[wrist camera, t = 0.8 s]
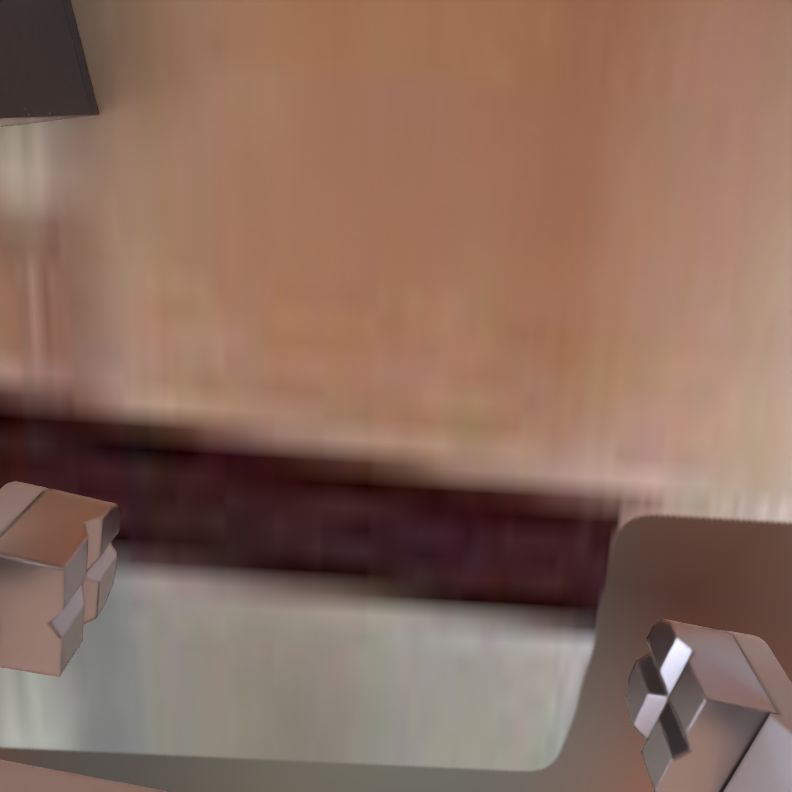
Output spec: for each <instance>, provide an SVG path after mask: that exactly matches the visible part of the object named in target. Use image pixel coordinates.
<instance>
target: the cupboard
mask: <svg viewBox="0 0 792 792" xmlns="http://www.w3.org/2000/svg"><path fill="white" fill-rule="evenodd" d="M94 115H99V113H98V109H97V105H96V101H95V97H94V93H93V89H92V85H91V81H90V77H89V74H88V70H87V66H86V62H85V58H84V54H83V50H82V46H81V42H80V38H79V34H78V30H77V26H76V22H75V18H74V14H73V10H72V6H71V2H70V0H0V127H4V126H12V125H21V124H29V123H37V122H45V121H53V120H61V119H70V118H78V117H86V116H94Z"/></svg>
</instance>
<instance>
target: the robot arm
mask: <svg viewBox="0 0 792 792" xmlns="http://www.w3.org/2000/svg"><path fill="white" fill-rule="evenodd" d="M120 515H121V510H120V508H119V506H118V505H117V504H115V503H110V502H106V501H102V500H97V499H93V498H89V497H84V496H80V495H76V494H71V493H67V492H63V491H59V490H54V489H47V488H45V487H40V486H36V485H31V484H26V483H22V482H17V481H15V482H11V483H7V484H6V485H4V486H3V487H2V488H1V489H0V667H3V668H9V669H15V670H21V671H27V672H33V673H39V674H45V675H51V676H57V677H60V675H61V674H62V672H63V671H64V669H65V668H66V666H67V664H68V663H69V661H70V660H71V658H72V657H73V655H74V653H75V652H76V650H77V649H78V647H79V646H80V644H81V642H82V640H83V626H84V624H86V623H88V622H90V621H92V620H94V619H96V618H97V617H98V615H99V613H100V612H101V610H102V608H103V607H104V605H105V603H106V601H107V598H108V596H109V593H110V591H111V588H112V586H113V582H114V578H115V573H116V569H117V558H118V554H117V552H116V551H115V549H114V548H113V546H112V544H111V541H112V540H113V538H114V537H115V536H116V534H117V533H118V531H119V530H120ZM647 641H648V644H649V647H650V650H651V652H650V653H648V654H646V655H645V656H643V657H641V658H640V659H638V660H636V662H635V664H634V667H633V669H632V671H631V674H630V676H629V679H628V687H627V696H626V697H627V706H628V712H629V716H630V719H631V722H632V725H633V727H634V728H635V729H636V730H637V731H638V732H639V733H640V734H641V735H642V736H643V737H644V738H645V739H646V740H647V741H646V743H645V745H644V747H643V749H642V751H641V753H642V756H643V759H644V762H645V765H646V768H647V771H648V774H649V777H650V779H651V783H652V786H653V788H654V791H655V792H792V683H791V682H790V680H789V678H788V677H787V675H786V674H785V672H784V670H783V669H782V667H781V666H780V664H779V662H778V661H777V659H776V658H775V656H774V654H773V653H772V651H771V650H770V648H769V647H768V645H767V643H766V642H764V641H763V640H762V639H760V638H759V637H758V636H753V635H747V634H742V633H736V632H731V631H720V630H715V629H709V628H705V627H700V626H695V625H689V624H685V623H680V622H675V621H670V620H665V619H659V620H658V621H657V622H656V623H655V624H654V625H653V627H652V629H651V631H650V633H649V635H648V637H647ZM0 792H168V791H163V790H158V789H152V788H147V787H142V786H136V785H131V784H125V783H120V782H115V781H110V780H105V779H99V778H94V777H89V776H83V775H78V774H72V773H67V772H62V771H57V770H51V769H46V768H41V767H35V766H30V765H25V764H19V763H14V762H8V761H3V760H0Z"/></svg>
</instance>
